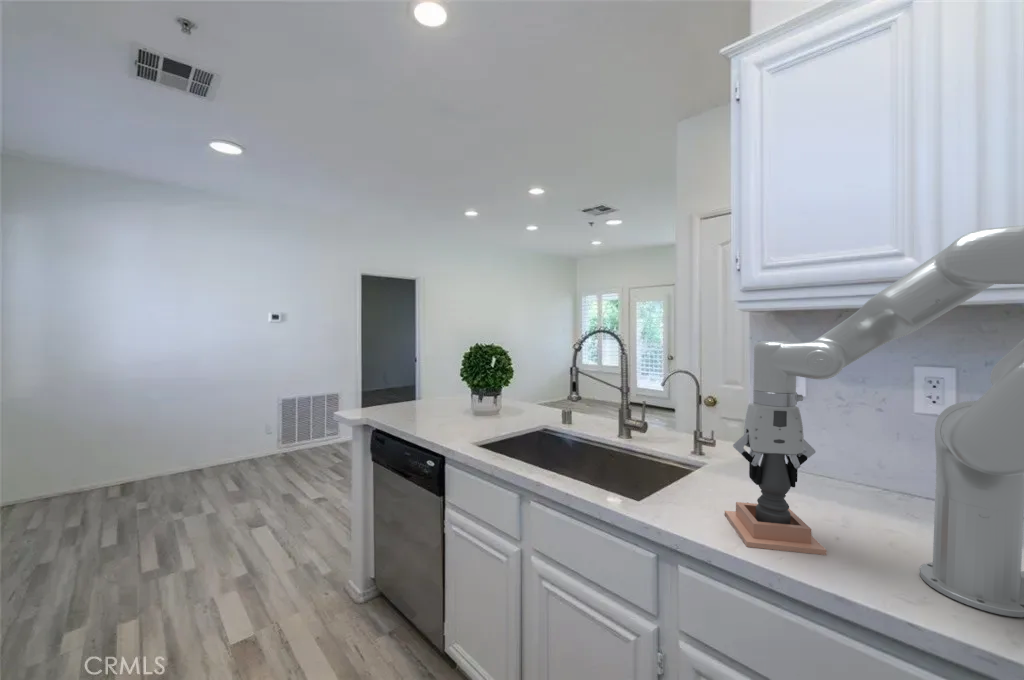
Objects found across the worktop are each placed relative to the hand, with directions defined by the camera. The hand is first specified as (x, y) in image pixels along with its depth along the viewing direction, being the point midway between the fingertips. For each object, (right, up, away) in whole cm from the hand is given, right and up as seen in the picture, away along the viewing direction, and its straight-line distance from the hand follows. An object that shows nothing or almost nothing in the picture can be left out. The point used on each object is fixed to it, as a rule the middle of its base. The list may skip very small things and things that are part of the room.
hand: (772, 482), depth 85 cm
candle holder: (0, -9, 0) cm, 9 cm away
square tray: (0, -11, 0) cm, 11 cm away
